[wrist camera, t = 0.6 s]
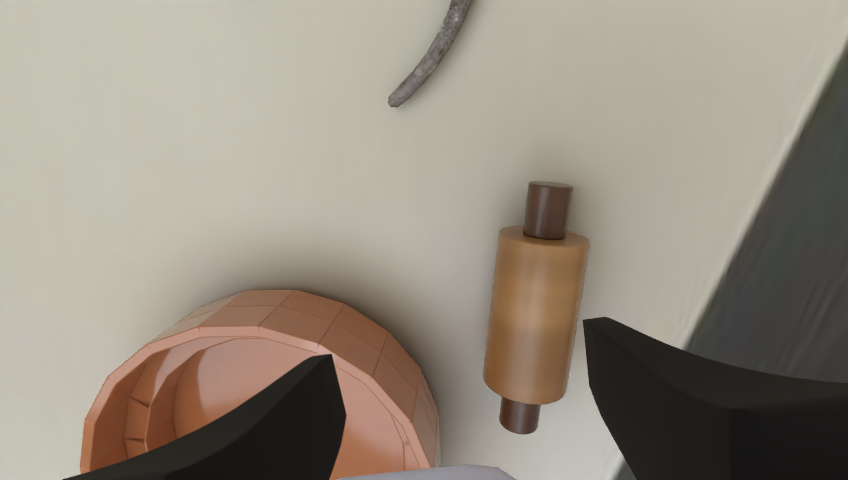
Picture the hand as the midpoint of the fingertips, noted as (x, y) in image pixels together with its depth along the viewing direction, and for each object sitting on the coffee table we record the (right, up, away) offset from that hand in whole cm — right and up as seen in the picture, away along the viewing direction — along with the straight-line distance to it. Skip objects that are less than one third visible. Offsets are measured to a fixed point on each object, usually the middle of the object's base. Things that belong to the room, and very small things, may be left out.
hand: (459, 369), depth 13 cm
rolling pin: (+4, +1, +10) cm, 10 cm away
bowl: (-8, -6, +12) cm, 16 cm away
